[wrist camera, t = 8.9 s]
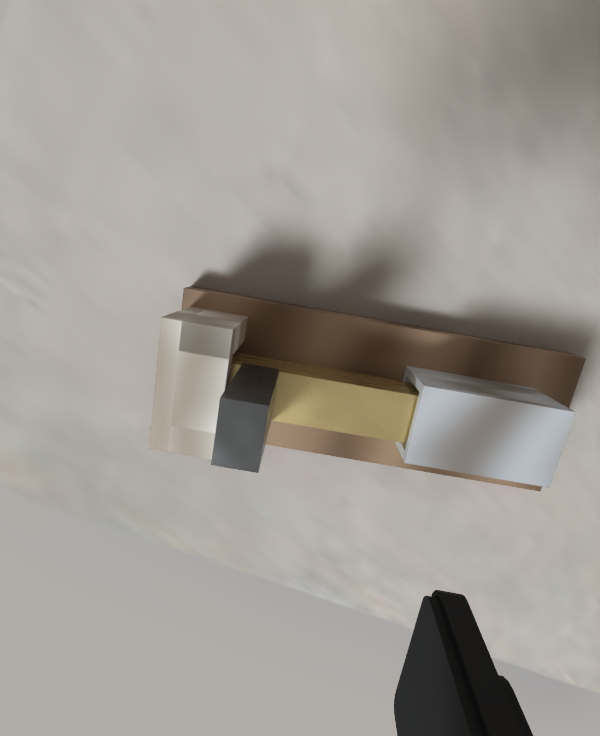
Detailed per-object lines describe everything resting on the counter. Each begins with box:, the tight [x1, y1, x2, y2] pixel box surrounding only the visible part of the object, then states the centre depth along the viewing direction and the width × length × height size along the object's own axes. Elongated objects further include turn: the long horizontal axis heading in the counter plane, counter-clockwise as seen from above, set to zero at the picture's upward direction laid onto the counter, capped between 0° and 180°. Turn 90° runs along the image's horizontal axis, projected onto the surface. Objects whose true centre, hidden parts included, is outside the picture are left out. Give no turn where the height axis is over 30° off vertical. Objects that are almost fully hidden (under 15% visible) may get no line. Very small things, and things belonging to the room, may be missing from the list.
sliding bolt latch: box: [149, 287, 585, 491], centre depth 26 cm, size 24×9×7 cm, turn 80°
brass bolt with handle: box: [211, 352, 419, 473], centre depth 22 cm, size 15×3×9 cm, turn 80°
